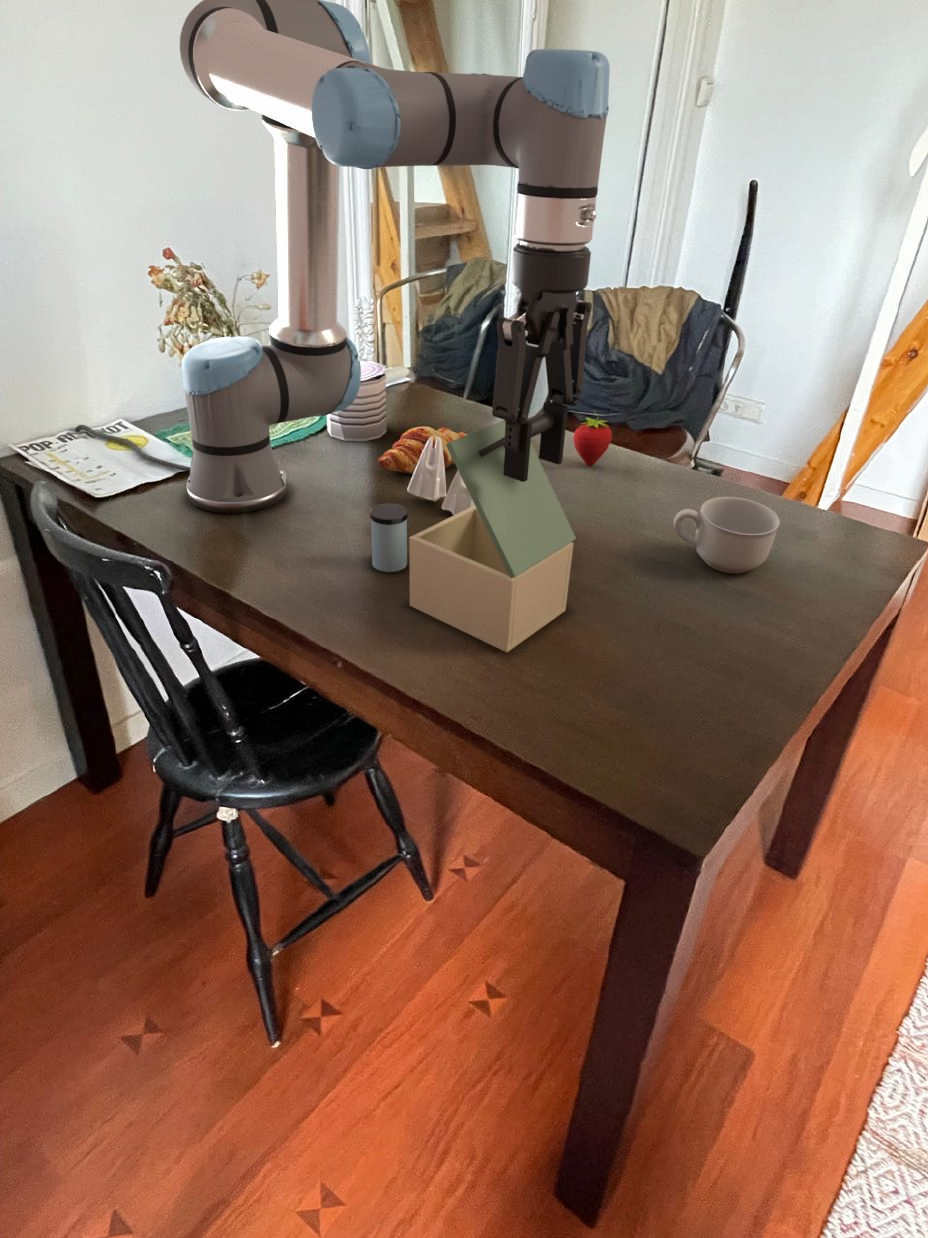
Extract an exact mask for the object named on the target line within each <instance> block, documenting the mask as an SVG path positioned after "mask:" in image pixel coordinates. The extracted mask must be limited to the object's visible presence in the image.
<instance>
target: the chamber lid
mask: <svg viewBox="0 0 928 1238" xmlns="http://www.w3.org/2000/svg"><path fill="white" fill-rule="evenodd" d="M527 421H531V422H532V431H531V438H533V437H536V436H538V435H541V433H543V432H545V431H547V430H549V429H551V428H552V427H553V426H554V417H553V415H552V414H551V413H549V412H543V411H542V412H540V413H538V414H535V415H533V416H531V417H528V418H527ZM505 425H506V423H505V420H504V419H502V420H501V421H498V422H496V423H493V424H491V425H488V426H486V427H484V428H482V429H479V430H475V431H474V432H472V433H469V434H467V435H466V436H464V437H461V438H459V439H456V440H454V441H451V442H449V443H447V444H446V446H447V448H448V450H449V453H450V455H451V457H452V459H453V461H454V463H453V464H454V465H455V467H456V469H457V471H459V473H460V475H461V477H462V479H463V481H464V483H465V485H466V488H467V490H468V492H469V494H470V496H471V498H472V500H473V502H474V504H475V506H476V508H477V510H478V512H479V514H480V516H481V518H482V521H483V523H484V525H485V527H486V529H487V531H488V533H489V535H490V537H491V539H492V541H493V543H494V545H495V547H496V549H497V551H498V553H499V556H500V558H501V560H502V562H503V564H504V566H505V568H506V570H507V572H508V574H509V576H510V578H513V577H516V576H517V575H519V574H520V573H522V572H524V571H525V570H527V569H528V568H530V567H532V566H533V565H535V564H537V563H538V562H540V561H541V560H543V559H545V558H546V557H548V556H549V555H551V554H553V553H554V552H556V551H557V550H559V549H561V548H562V547H564V546H565V545H567V544H569V543H570V542H572V543H573V542H574V541H575V540H577V537H576V535H575V533H574V531H573V529H572V526H571V524H570V523H569V519H568V518H567V516H566V513H565V512H564V510H563V508H562V505H561V503H560V501H559V500H558V497H557V495H556V493H555V490H554V488H553V487H552V484H551V482H550V480H549V478H548V475H547V474H546V472H545V469H544V467H543V465H542V463H541V461H540V459H539V455H538V454H537V452H536V450H535V448H534V446H533V444H532V442H531V443H530V455H529V467H528V479H527V481H525V482H522V481H519V480H516V479H513V478H510V477H507V476H504V475H503V473H504V458H505V448H504V441H505Z"/></svg>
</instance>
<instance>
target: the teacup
mask: <svg viewBox="0 0 928 1238" xmlns="http://www.w3.org/2000/svg"><path fill="white" fill-rule="evenodd" d="M699 511H700V512H697V511H696V510H694V509H691V508H685V509H682V510H680V511H679V512H677V513H676V514H675V516H674V519H673V522H672V523H673V529H674V531H675V533H676V534H677V535H678V537H679V538H681V539H682V540H683V541H685V542H686V543H688V544H689V547H690V548H691V549H693V550H696V553H697V554H698V555H699V557H700V558H701V559H702V560H703V562H705V564H706V565H708V566H709V567H710V568H712V569H714V570H715V571H716V570H717V571H719V572H722V573H726V574H742V573H747V572H748V571H752V570H754V569H757V568H758V567H760V566H761V565H763V564H764V563H765V562H766V560H767V559H768V557H769V555H770V552H771V550H772V547H773V544H774V542H775V538H776V535H777V532H778V531H777V530H778V529H779V527H780V525H781V524H780V523H781V520H780V518H779V516H778V514H777V513H776V512H775V511H774V510H772V508H770V507H768V506H766V505H764V504H762V503H759V502H757V501H756V500H755V501H754V500H751V499H747V498H744V497H737V496H718V497H713V498H710V499H708V500H706V501H704V502H703V503H702V504H701V506H700V509H699ZM687 518H690V519H692V520H693V521H694V526H695V528H696V530H695V536H693V535H691V534H689V533H688V532H687V531H685V530H684V529H683V528H682V526H681V524H682V521H683V520H684V519H687Z"/></svg>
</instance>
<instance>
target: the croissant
mask: <svg viewBox="0 0 928 1238" xmlns="http://www.w3.org/2000/svg"><path fill="white" fill-rule="evenodd" d="M466 435H468V434H467V433H464V432H462V431H460V432H458V433H457V432H455V431H452V430H451V429H449V428H447V427H440V428H439V429H437V430H436V429H434V428H432V427H430V426H417V427H412V428H410V429H408V430H406V431H405V432H404V433H402V435H401V436H400V439H399V440H397V441H395V442H394V443H393V445H392V448H391V449H388V450H387V451H385V452H384V453H383V455H381V457H379V458H378V459H377V463H378V466H379V467H380V468H381V469H384V470H387V471H390V472H398V473H403V474H412V475H413V474H414V471H415V469H416V466H417V464H418V461H419V459H420V457H421V454H422V452H423V450H424V447H425V445H426V443H427V441H428V439H429V438H430V437H432V438H433V446H432V448H433V449H434V447H435V443H436V438H437V437H440V438H441V442H442V449H443V457H444V467H445V469H446V468H448V467H450V466H452V465H454V464H455V463H454V461H453V459H452V457H451V455H450V453H449V450H448V448H447V446H446V444H447V443H449V442H451V441H454V440H456V439H459V438H461V437H464V436H466Z"/></svg>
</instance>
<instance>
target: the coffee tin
mask: <svg viewBox="0 0 928 1238" xmlns="http://www.w3.org/2000/svg"><path fill="white" fill-rule="evenodd" d="M408 513H409V511H408V508H406V507H405V506H403V505H402V504H399V503H392V502H391V503H390V502H389V503H379V504H376V505H374V506H373V507H372V508H370V511H369V518H370V530H371V531H370V532H371V562H372V563H371V564H372V567H373V568H374V569H376V570H377V571H380V572H385V573H394V572H399V571H401V570H404V569H405V568H406V567H407V565H408V518H409V517H408V516H409V515H408Z"/></svg>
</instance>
